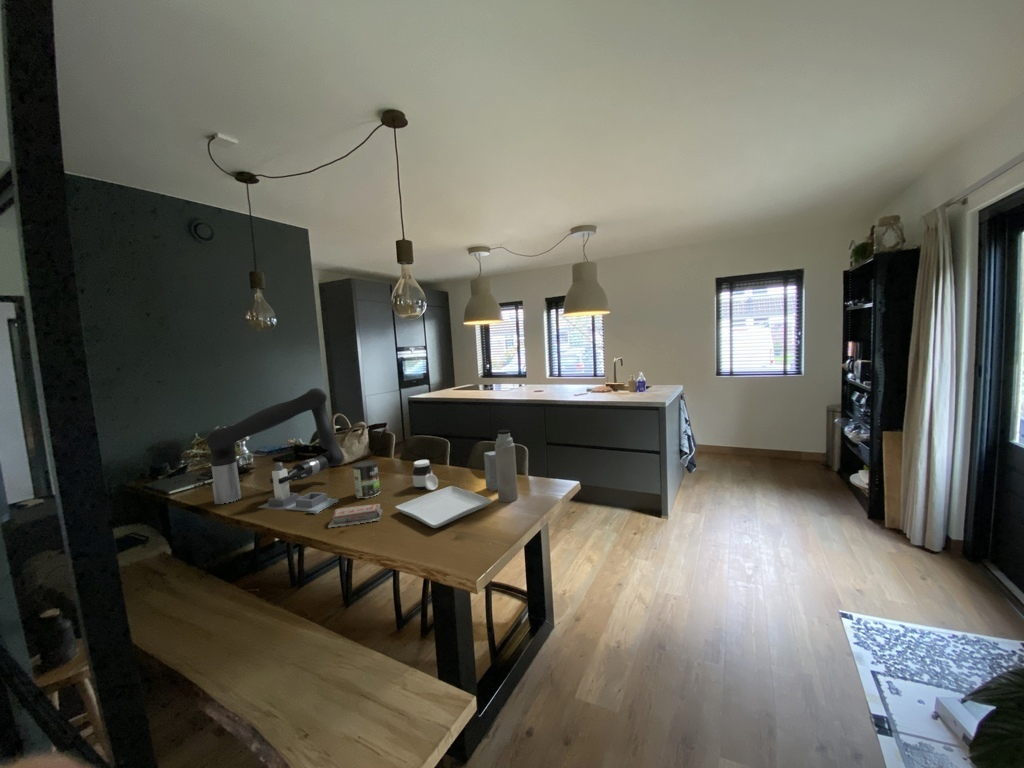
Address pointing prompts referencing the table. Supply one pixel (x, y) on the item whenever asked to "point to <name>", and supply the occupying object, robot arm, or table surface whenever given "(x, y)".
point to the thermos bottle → (506, 467)
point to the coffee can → (366, 479)
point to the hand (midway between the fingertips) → (275, 481)
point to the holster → (280, 502)
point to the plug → (280, 489)
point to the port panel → (312, 502)
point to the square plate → (443, 506)
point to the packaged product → (356, 515)
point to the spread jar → (424, 476)
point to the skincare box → (490, 471)
